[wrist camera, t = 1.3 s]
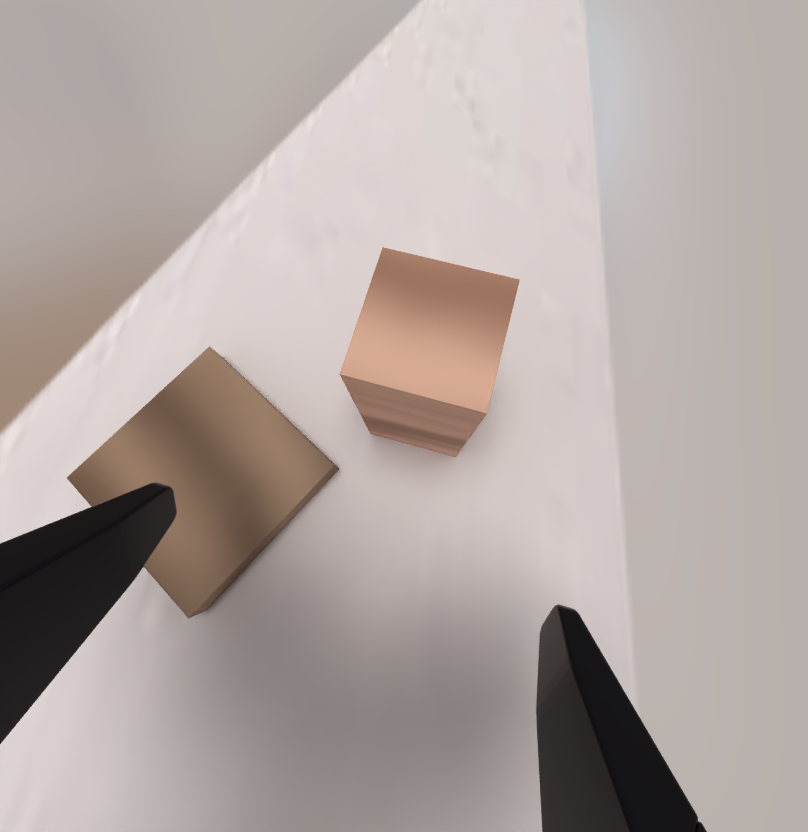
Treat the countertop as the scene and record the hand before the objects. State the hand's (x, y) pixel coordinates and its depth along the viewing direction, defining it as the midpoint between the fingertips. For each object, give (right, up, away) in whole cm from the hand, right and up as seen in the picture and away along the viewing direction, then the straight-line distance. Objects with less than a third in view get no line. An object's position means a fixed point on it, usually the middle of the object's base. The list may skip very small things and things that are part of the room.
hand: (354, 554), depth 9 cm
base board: (-10, 0, +14) cm, 17 cm away
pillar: (+2, +4, +14) cm, 15 cm away
